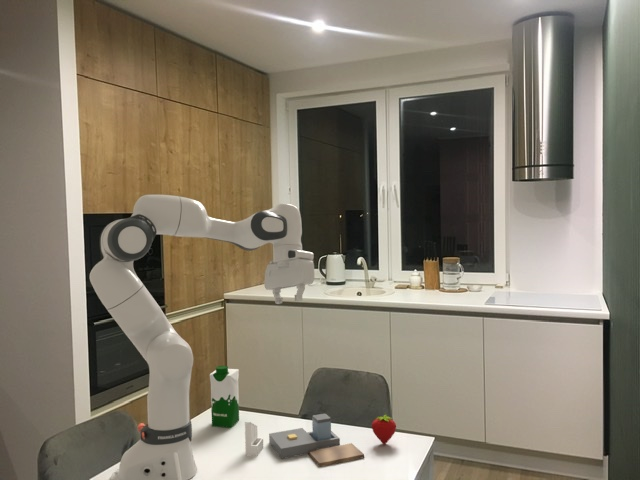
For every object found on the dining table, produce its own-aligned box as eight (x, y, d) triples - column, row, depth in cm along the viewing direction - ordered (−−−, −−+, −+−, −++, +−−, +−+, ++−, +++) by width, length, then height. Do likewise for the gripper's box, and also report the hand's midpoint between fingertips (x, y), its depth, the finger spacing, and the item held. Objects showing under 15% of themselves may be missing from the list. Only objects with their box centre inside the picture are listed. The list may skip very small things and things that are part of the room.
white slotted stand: (240, 453, 154) (244, 422, 158) (250, 457, 163) (254, 427, 167) (252, 454, 153) (256, 422, 157) (262, 458, 162) (265, 428, 166)
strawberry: (371, 439, 169) (371, 407, 168) (396, 439, 168) (395, 408, 167) (371, 447, 163) (371, 414, 162) (396, 447, 162) (396, 415, 161)
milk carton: (208, 427, 181) (206, 368, 180) (219, 417, 189) (218, 361, 189) (232, 429, 178) (231, 369, 178) (242, 419, 187) (241, 362, 186)
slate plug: (318, 446, 164) (317, 420, 164) (312, 440, 168) (312, 415, 168) (331, 443, 166) (330, 418, 166) (325, 438, 170) (325, 413, 170)
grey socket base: (281, 458, 156) (281, 446, 156) (269, 443, 167) (269, 431, 167) (342, 447, 163) (342, 435, 163) (326, 432, 174) (326, 421, 174)
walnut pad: (319, 466, 150) (319, 463, 150) (308, 454, 158) (308, 451, 158) (364, 457, 156) (364, 454, 156) (351, 446, 163) (351, 443, 163)
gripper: (259, 260, 169) (259, 304, 166) (301, 250, 154) (301, 298, 151) (275, 262, 173) (275, 305, 170) (317, 252, 158) (318, 299, 156)
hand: (288, 302), depth 161 cm, fingers open, 8 cm apart
